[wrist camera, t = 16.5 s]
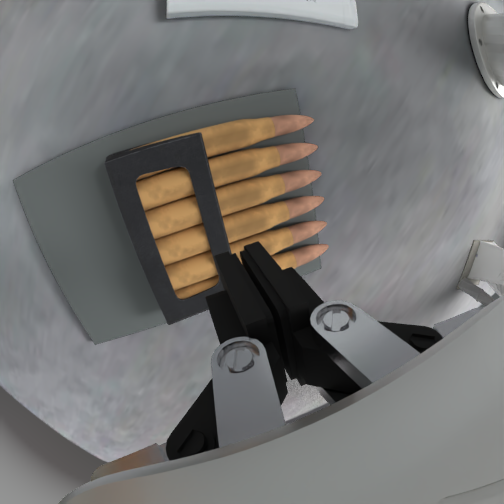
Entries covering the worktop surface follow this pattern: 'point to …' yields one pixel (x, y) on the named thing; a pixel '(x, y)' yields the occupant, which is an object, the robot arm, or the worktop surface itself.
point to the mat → (112, 224)
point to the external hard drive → (271, 10)
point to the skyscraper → (483, 271)
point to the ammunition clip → (211, 205)
